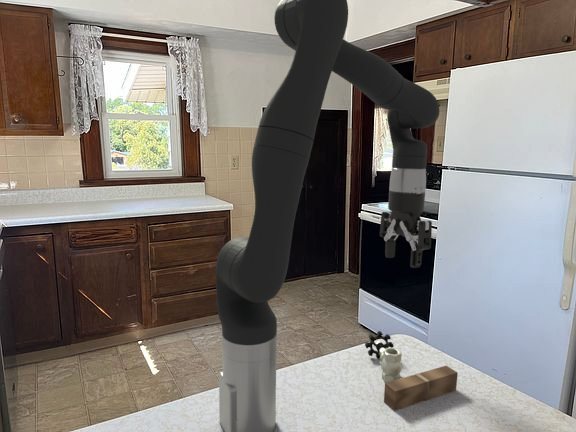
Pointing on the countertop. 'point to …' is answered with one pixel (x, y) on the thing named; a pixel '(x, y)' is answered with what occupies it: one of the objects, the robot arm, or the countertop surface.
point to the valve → (386, 356)
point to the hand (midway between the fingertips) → (402, 262)
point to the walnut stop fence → (420, 387)
